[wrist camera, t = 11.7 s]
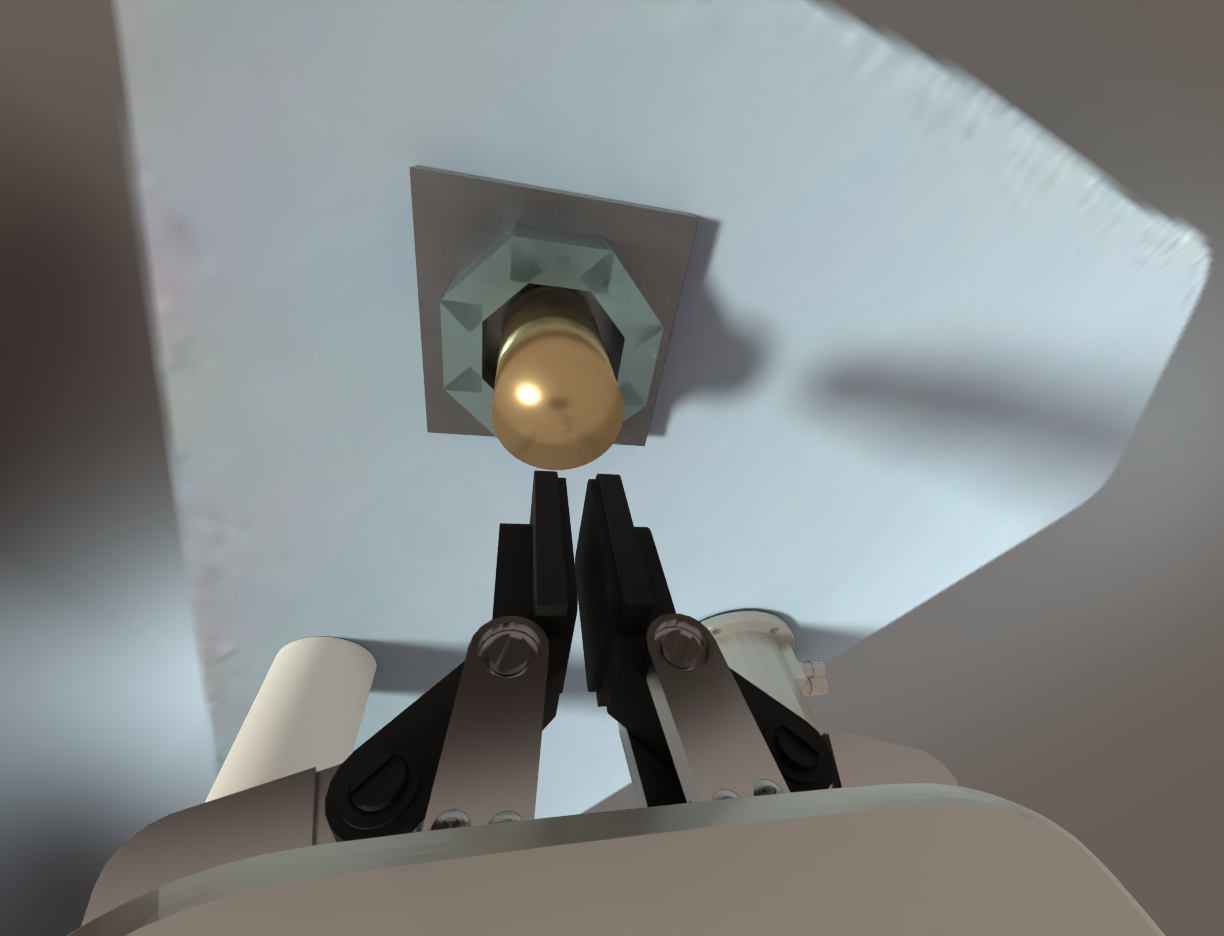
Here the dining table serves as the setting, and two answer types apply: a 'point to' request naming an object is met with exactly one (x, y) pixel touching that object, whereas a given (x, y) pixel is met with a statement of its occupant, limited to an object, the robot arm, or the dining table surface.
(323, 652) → the cylindrical container
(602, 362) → the gold round-topped cylinder
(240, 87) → the dining table surface
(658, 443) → the dining table surface
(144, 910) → the robot arm
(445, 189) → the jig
